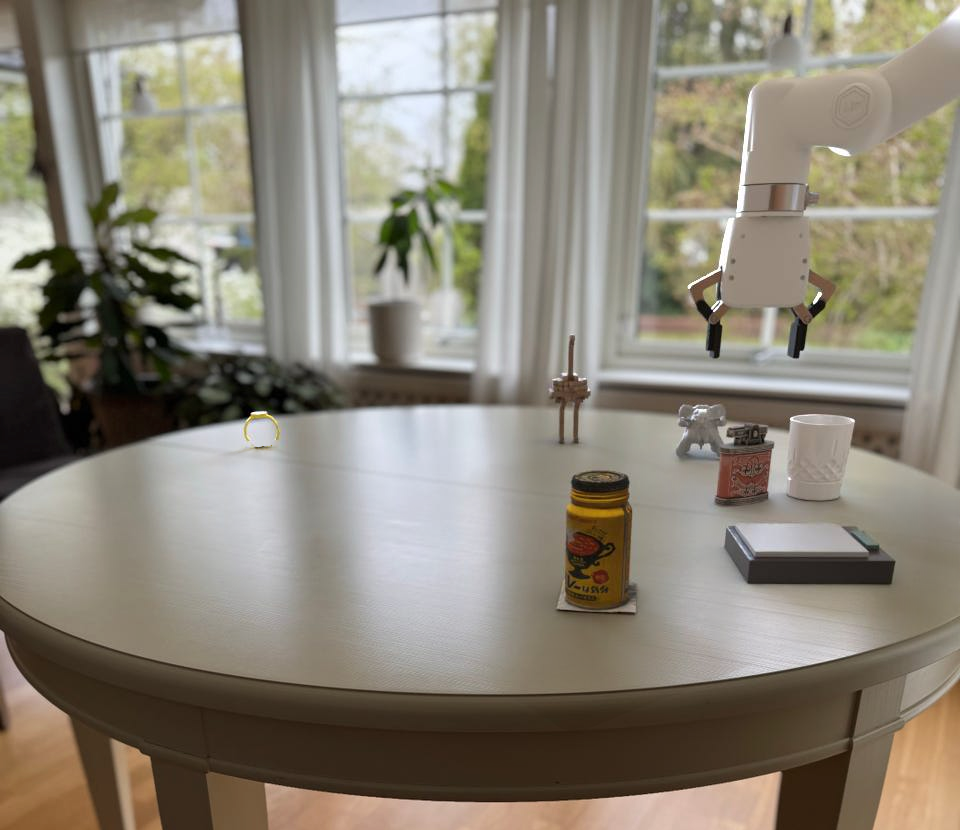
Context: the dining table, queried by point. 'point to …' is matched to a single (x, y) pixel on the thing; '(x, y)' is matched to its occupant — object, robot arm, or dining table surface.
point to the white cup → (817, 455)
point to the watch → (260, 415)
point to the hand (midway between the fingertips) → (753, 357)
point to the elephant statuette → (701, 427)
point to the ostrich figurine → (569, 392)
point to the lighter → (744, 466)
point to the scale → (807, 554)
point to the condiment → (598, 545)
